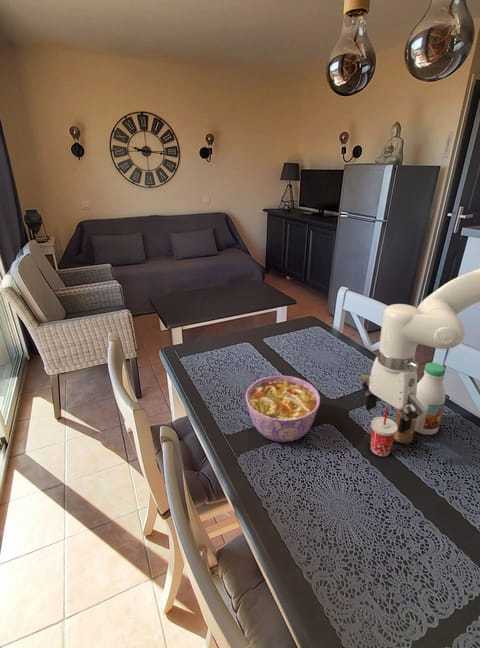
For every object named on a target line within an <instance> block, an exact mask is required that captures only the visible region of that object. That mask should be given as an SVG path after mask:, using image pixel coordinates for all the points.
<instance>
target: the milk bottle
mask: <svg viewBox="0 0 480 648" xmlns="http://www.w3.org/2000/svg"><path fill="white" fill-rule="evenodd" d="M445 372H446V368H445V367H444V365H442V364H440V363H437V362H427V363H425V366H424V370H423V373H424V374H423V376H422V378H421V379H420V380H419V381H417V393H416V398H417V399H418V400H419V402H420V403H421V404H422V405H423V406H424V407H425V409H426V411H425V412H424V413H422V414H421V415H420V416H418V417H417V420H416V425H415V430H414V432H416V433H419V434H422V435H427V436H428V435H429V436H430V435H434V434H437V433H438V431H439V428H440V424H441V421H442V415H443V411H444V407H445V402H446V389H445V386H444V383H443V382H444V381H443V378H444V377H445V374H446V373H445ZM411 406H412V408H413V410H415V408H414V407H413V405H412V404H411Z"/></svg>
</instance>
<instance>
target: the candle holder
mask: <svg viewBox="0 0 480 648" xmlns="http://www.w3.org/2000/svg"><path fill="white" fill-rule="evenodd" d="M405 410H406V412H407V413H408V411H407V408H405ZM414 411H415V410H414ZM401 418H402V414H401V412H400V410H399V409H397V408H396V411H395V417H394V420H393V421H394V422H395V423H396V424H397V427H398V428H397V432H396V434H395V435H394V439H393V440H395V441H396V442H399V443H401V444H410V443H412V442H413V439H414V434H415V425H416V420H417V418H414V419H412V422H411V427H410V429H409V430H406V431H404V432H402V433H400V432H399V431H398V430H399V424H400V419H401Z"/></svg>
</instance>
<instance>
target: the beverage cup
mask: <svg viewBox="0 0 480 648" xmlns="http://www.w3.org/2000/svg"><path fill="white" fill-rule="evenodd" d="M388 411H389V408H388V407H385V411H384V416H376V417H374V418H372V420H371V422H370V426H371V434H370V450H371V452H372V453H374V455H377V456H379V457H388V456H389V455H390V453H391V450H392V446H393V443H394V440H395V439H394V435H395V434H396V432H397V428H398V427H397V424H396V423H395V422H394V421H395V420H392V419H391V418H388Z"/></svg>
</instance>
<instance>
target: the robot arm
mask: <svg viewBox="0 0 480 648" xmlns="http://www.w3.org/2000/svg"><path fill="white" fill-rule="evenodd" d="M478 303H480V268H477V269H474V270H472V271H470V272H467V273H464V274H462V275H460V276H458V277H455V278H453V279H451V280H449V281H448V282H446V283H444V284H443V285H442V286H440V287H439V288H438V289H436V290H434V291H433V292H432V293H430V294H429V295H428V296H426V297H425V298H424V299H423V300H422V301H421V302H420V303H419V304H418V306H417V307H415V306H413V305H410V304H406V303H394V304H390V305H388V306H386V307H385V308H384V310H383V314H382V321H381V328H380V329H381V330H380V335H379V344H378V353H377V356H376V357H375V359H374V361H373V364H372V367H371V371H370V372H367V373H362V374H360V380H361V383H362V384H361V385H362V388H363V389H364V395H365V396H366V399H365V410H366V411H371V410H372V409H375V408H376V407H377V402H378V398H379V399H380V400H382V401H383V402H385V403H387V404H388V405H390V406H392V407H394V408H395V409H396V410H397V409H399V410H400V412H401V414H402V418H401V419H400V424H399V430H398V431H399V432H400V433H402V432H404V431H406V430H409V429H410V427H411V422H412V419H414V418H417V417H418V416H420V415H421V414H422V413H424V412H425V411H426V409H425V407H424V406H423V405H422V404H421V403H420V402H419V400H418V399H417V398H416V393H417V383H418V372H417V369H418V367H419V363H418V362H416V361H415V360H416V351H417V345H423V346H426V347H430V348H432V349H433V348H434V349H440V350H448V349H453V348H456V347H457V346H459V345H461V343H462V342H463V341H464V339H465V336H466V330H465V327H464V325H463V323H462V321H461V320H460V318H459V317H458V314H460V313H461V312H463V311H465V310H466V309H468V308H469V307H472V306H473V305H475V304H478ZM411 404H412V405H413V407H414V408H415V411H414V410H413V408H412V406H411ZM405 408H407V411H408V413H407V412H406V410H405Z"/></svg>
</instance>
